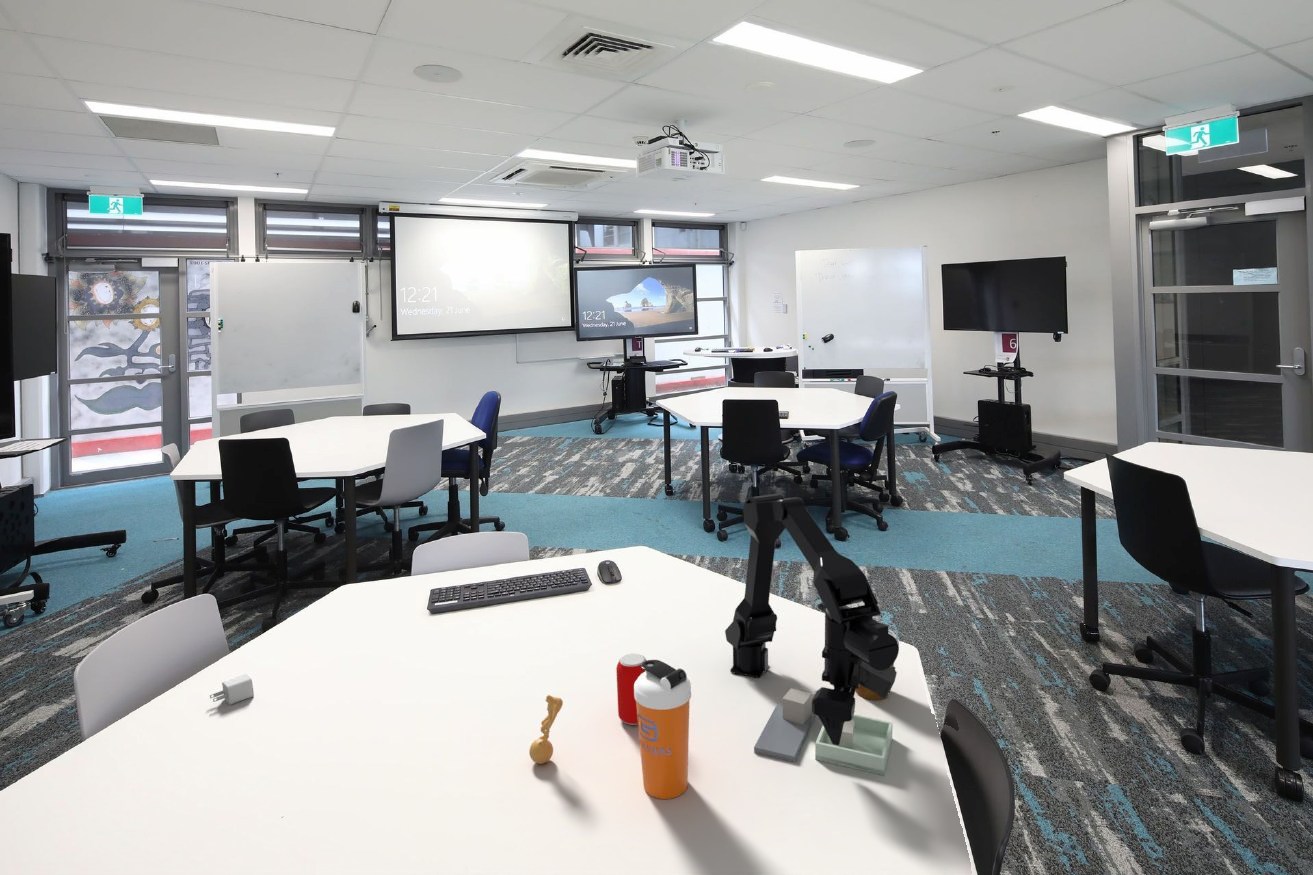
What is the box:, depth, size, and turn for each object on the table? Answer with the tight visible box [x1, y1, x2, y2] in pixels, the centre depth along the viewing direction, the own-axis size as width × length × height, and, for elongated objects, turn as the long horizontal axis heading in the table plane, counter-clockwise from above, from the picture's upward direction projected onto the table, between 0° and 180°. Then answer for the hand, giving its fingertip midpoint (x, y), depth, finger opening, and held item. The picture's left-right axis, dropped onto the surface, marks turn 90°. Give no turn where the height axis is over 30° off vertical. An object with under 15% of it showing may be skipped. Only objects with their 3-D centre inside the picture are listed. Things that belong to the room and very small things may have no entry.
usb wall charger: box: [209, 673, 255, 706], centre depth 142 cm, size 4×7×4 cm, turn 137°
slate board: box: [753, 702, 816, 763], centre depth 125 cm, size 7×15×1 cm, turn 155°
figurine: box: [528, 694, 564, 765], centre depth 118 cm, size 8×6×12 cm
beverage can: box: [615, 653, 647, 726], centre depth 130 cm, size 6×6×12 cm
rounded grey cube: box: [828, 720, 854, 750], centre depth 119 cm, size 4×4×4 cm
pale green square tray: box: [814, 714, 894, 776], centre depth 120 cm, size 11×11×3 cm
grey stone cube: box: [782, 688, 813, 725], centre depth 128 cm, size 4×4×4 cm
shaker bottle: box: [634, 659, 692, 800], centre depth 111 cm, size 9×9×20 cm
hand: (841, 729), depth 119 cm, fingers open, 9 cm apart
